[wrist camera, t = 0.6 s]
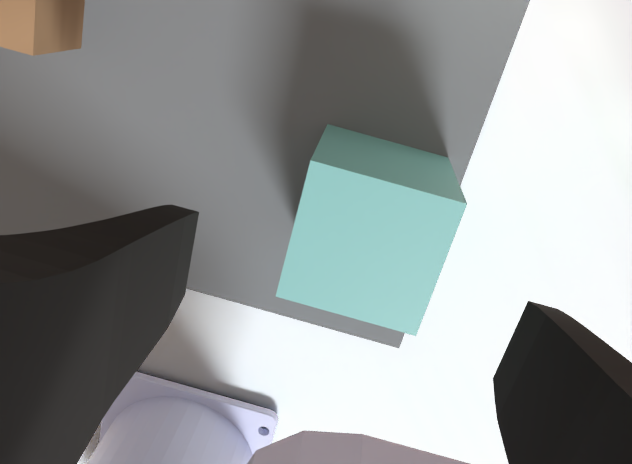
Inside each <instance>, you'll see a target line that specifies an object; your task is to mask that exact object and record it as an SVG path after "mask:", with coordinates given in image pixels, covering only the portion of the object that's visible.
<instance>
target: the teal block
mask: <svg viewBox="0 0 632 464" xmlns="http://www.w3.org/2000/svg"><path fill="white" fill-rule="evenodd" d="M466 205H467V203H466V200H465V198H464V195H463V193H462V190H461V188H460V185H459V183H458V180H457V178H456V175H455V173H454V170H453V168H452V165H451V163H450V160H449V158H448V157H444V156H441V155H437V154H434V153H430V152H426V151H423V150H419V149H416V148H412V147H409V146H405V145H401V144H398V143H394V142H391V141H387V140H383V139H380V138H376V137H373V136H369V135H365V134H362V133H358V132H355V131H351V130H347V129H344V128H340V127H337V126H333V125H329V124H327V126H326V128H325V131H324V133H323V135H322V137H321V139H320V141H319V143H318V145H317V147H316V150H315V152H314V154H313V156H312V158H311V160H310V164H309V168H308V172H307V176H306V180H305V183H304V187H303V191H302V195H301V199H300V203H299V207H298V211H297V215H296V219H295V222H294V226H293V230H292V234H291V238H290V242H289V246H288V250H287V254H286V257H285V261H284V265H283V269H282V273H281V277H280V281H279V285H278V289H277V293H276V297H279V298H283V299H286V300H290V301H293V302H297V303H300V304H304V305H308V306H311V307H315V308H318V309H322V310H325V311H329V312H332V313H336V314H340V315H343V316H347V317H350V318H354V319H357V320H361V321H364V322H368V323H372V324H375V325H379V326H382V327H386V328H389V329H393V330H397V331H400V332H404V333H407V334H411V335H414V336H416V334H417V332H418V329H419V326H420V324H421V321H422V319H423V316H424V314H425V311H426V308H427V306H428V303H429V301H430V298H431V295H432V293H433V290H434V288H435V285H436V283H437V280H438V277H439V275H440V272H441V270H442V267H443V264H444V262H445V259H446V257H447V254H448V252H449V249H450V246H451V244H452V241H453V239H454V236H455V233H456V231H457V228H458V226H459V223H460V221H461V218H462V215H463V213H464V210H465V208H466Z"/></svg>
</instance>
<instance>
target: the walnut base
mask: <svg viewBox="0 0 632 464" xmlns="http://www.w3.org/2000/svg"><path fill="white" fill-rule="evenodd" d="M84 6H85V0H0V47H3V48H7V49H10V50H14V51H18V52H21V53H25V54H28V55H32V56H35V55H41V54H48V53H54V52H61V51H67V50H74V49H80V48H81V45H82V32H83V19H84Z"/></svg>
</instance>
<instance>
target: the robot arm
mask: <svg viewBox="0 0 632 464" xmlns="http://www.w3.org/2000/svg"><path fill="white" fill-rule="evenodd" d="M198 216H199V212H198V211H194V210H190V209H187V208H183V207H179V206H175V205H172V204H171V205H162V206H157V207H152V208H148V209H144V210H140V211H136V212H133V213H129V214H125V215H121V216H117V217H113V218H109V219H105V220H100V221H95V222H90V223H85V224H81V225H76V226H71V227H66V228H60V229H54V230H47V231H40V232H30V233H21V234H11V235H0V464H77V462H78V461H79V459H80V457H81V455H82V454H83V452H84V450H85V448H86V447H87V445H88V443H89V441H90V440H91V438H92V436H93V434H94V433H95V431H96V429H97V427H98V426H99V424H100V422H101V429H100V437H99V444H98V446H97V447H96V449H95V450H94V452H93V454H92V455H91V457H90V458H89V460H88V461H87V463H86V464H469V463H465V462H461V461H458V460H454V459H451V458H447V457H443V456H440V455H436V454H432V453H429V452H425V451H421V450H418V449H414V448H410V447H407V446H403V445H400V444H396V443H392V442H389V441H385V440H381V439H378V438H374V437H370V436H367V435H363V434H349V433H333V432H317V431H302V432H299V433H297V434H295V435H292V436H290V437H287V438H285V439H282V440H280V441H277V442H275V443H273V444H272V440H273V437H274V433H275V430H276V426H277V423H278V416H277V414H276V413H275V412H274V411H272V410H270V409H267V408H263V407H260V406H256V405H253V404H249V403H246V402H242V401H239V400H235V399H232V398H228V397H225V396H221V395H218V394H214V393H210V392H207V391H203V390H200V389H196V388H193V387H189V386H186V385H182V384H179V383H175V382H172V381H168V380H164V379H161V378H157V377H154V376H150V375H147V374H143V373H140V372H136V371H137V370H138V368H139V367H140V366H141V364H142V363H143V361H144V360H145V359H146V357H147V356H148V355H149V353H150V352H151V350H152V349H153V348H154V346H155V345H156V344H157V342H158V341H159V339H160V338H161V337H162V335H163V334H164V332H165V331H166V329H167V328H168V326H169V324H170V322H171V320H172V319H173V317H174V315H175V313H176V311H177V309H178V307H179V305H180V303H181V301H182V299H183V297H184V295H185V291H186V285H187V280H188V274H189V268H190V262H191V256H192V251H193V245H194V239H195V233H196V228H197V222H198ZM493 382H494V394H495V404H496V413H497V420H498V424H499V428H500V432H501V436H502V440H503V444H504V447H505V451H506V455H507V459H508V462H509V464H632V363H631V362H630V361H629V360H627V359H626V358H625V357H623V356H622V355H621V354H619V353H618V352H617V351H616V350H614V349H613V348H612V347H610V346H609V345H608V344H607V343H605V342H604V341H603V340H601V339H600V338H599V337H597V336H596V335H595V334H594V333H592V332H591V331H590V330H588V329H587V328H586V327H584V326H583V325H582V324H580V323H579V322H577V321H576V320H575V319H573V318H572V317H570V316H569V315H567V314H565V313H564V312H562V311H560V310H558V309H555V308H552V307H548V306H544V305H541V304H537V303H533V302H530V301H528V303H527V305H526V307H525V310H524V312H523V314H522V316H521V318H520V321H519V323H518V325H517V327H516V329H515V332H514V334H513V336H512V338H511V340H510V342H509V345H508V347H507V349H506V351H505V353H504V356H503V358H502V360H501V362H500V364H499V367H498V369H497V371H496V373H495V375H494V378H493ZM261 427H266V428H268V430H265V429H262V428H261Z"/></svg>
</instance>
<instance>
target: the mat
mask: <svg viewBox="0 0 632 464" xmlns="http://www.w3.org/2000/svg"><path fill="white" fill-rule="evenodd" d="M529 1H530V0H85V6H84V19H83V32H82V45H81V48H80V49H74V50H67V51H61V52H54V53H48V54H41V55H35V56H32V55H28V54H25V53H21V52H18V51H14V50H10V49H7V48H3V47H0V235H11V234H21V233H30V232H40V231H47V230H54V229H60V228H66V227H71V226H76V225H81V224H85V223H90V222H95V221H100V220H105V219H109V218H113V217H117V216H121V215H125V214H129V213H133V212H136V211H140V210H144V209H148V208H152V207H157V206H162V205H171V204H172V205H175V206H179V207H183V208H187V209H190V210H194V211H198V212H199V216H198V222H197V228H196V233H195V239H194V245H193V251H192V256H191V262H190V268H189V274H188V280H187V285H186V288H187V289H190V290H194V291H198V292H201V293H205V294H208V295H212V296H215V297H219V298H222V299H226V300H229V301H233V302H237V303H240V304H244V305H247V306H251V307H254V308H258V309H261V310H265V311H269V312H272V313H276V314H279V315H283V316H286V317H290V318H293V319H297V320H301V321H304V322H308V323H311V324H315V325H318V326H322V327H325V328H329V329H333V330H336V331H340V332H343V333H347V334H350V335H354V336H357V337H361V338H365V339H368V340H372V341H375V342H379V343H382V344H386V345H389V346H393V347H397V348H399V347H400V344H401V341H402V339H403V336H404V332H400V331H397V330H393V329H389V328H386V327H382V326H379V325H375V324H372V323H368V322H364V321H361V320H357V319H354V318H350V317H347V316H343V315H340V314H336V313H332V312H329V311H325V310H322V309H318V308H315V307H311V306H308V305H304V304H300V303H297V302H293V301H290V300H286V299H283V298H279V297H276V293H277V289H278V285H279V281H280V277H281V273H282V269H283V265H284V261H285V257H286V254H287V250H288V246H289V242H290V238H291V234H292V230H293V226H294V222H295V219H296V215H297V211H298V207H299V203H300V199H301V195H302V191H303V187H304V183H305V180H306V176H307V172H308V168H309V164H310V160H311V158H312V156H313V154H314V152H315V150H316V147H317V145H318V143H319V141H320V139H321V137H322V135H323V133H324V131H325V128H326V126H327V124H329V125H333V126H337V127H340V128H344V129H347V130H351V131H355V132H358V133H362V134H365V135H369V136H373V137H376V138H380V139H383V140H387V141H391V142H394V143H398V144H401V145H405V146H409V147H412V148H416V149H419V150H423V151H426V152H430V153H434V154H437V155H441V156H444V157H448V158H449V160H450V163H451V165H452V168H453V170H454V173H455V175H456V178H457V180H458V183H459V185H461V182H462V179H463V177H464V174H465V171H466V169H467V166H468V163H469V161H470V158H471V155H472V153H473V150H474V147H475V145H476V142H477V140H478V137H479V134H480V132H481V129H482V126H483V124H484V121H485V118H486V116H487V113H488V110H489V108H490V105H491V102H492V100H493V97H494V94H495V92H496V89H497V86H498V84H499V81H500V78H501V76H502V73H503V70H504V68H505V65H506V62H507V60H508V57H509V55H510V52H511V49H512V47H513V44H514V41H515V39H516V36H517V33H518V31H519V28H520V25H521V23H522V20H523V17H524V15H525V12H526V9H527V7H528V4H529Z"/></svg>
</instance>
